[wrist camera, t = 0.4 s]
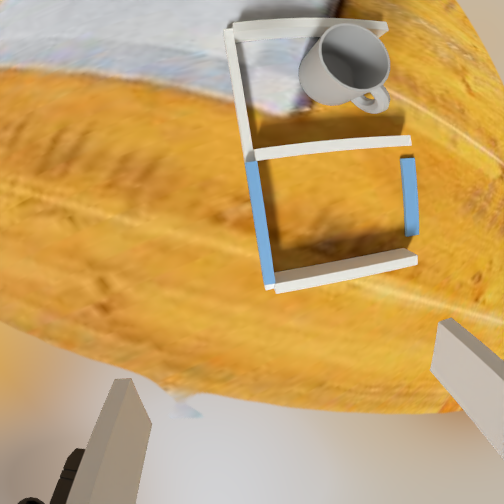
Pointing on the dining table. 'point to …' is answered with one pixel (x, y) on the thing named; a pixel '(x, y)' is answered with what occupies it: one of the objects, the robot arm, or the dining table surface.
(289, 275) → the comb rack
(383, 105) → the cup
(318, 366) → the dining table surface
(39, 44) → the dining table surface
